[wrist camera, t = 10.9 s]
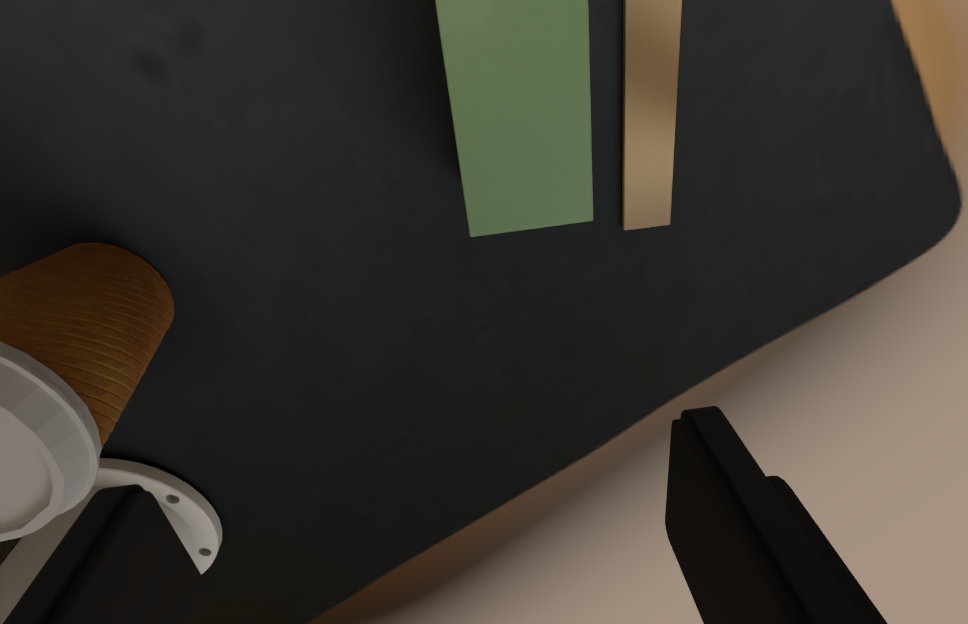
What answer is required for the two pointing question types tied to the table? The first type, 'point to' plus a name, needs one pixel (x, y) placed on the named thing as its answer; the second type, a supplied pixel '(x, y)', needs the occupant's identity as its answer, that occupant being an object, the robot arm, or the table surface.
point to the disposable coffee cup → (69, 372)
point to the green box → (520, 110)
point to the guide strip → (649, 109)
